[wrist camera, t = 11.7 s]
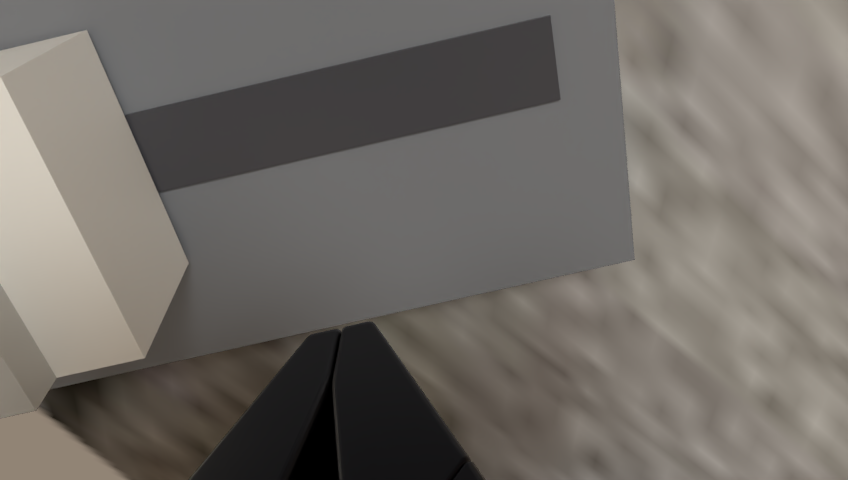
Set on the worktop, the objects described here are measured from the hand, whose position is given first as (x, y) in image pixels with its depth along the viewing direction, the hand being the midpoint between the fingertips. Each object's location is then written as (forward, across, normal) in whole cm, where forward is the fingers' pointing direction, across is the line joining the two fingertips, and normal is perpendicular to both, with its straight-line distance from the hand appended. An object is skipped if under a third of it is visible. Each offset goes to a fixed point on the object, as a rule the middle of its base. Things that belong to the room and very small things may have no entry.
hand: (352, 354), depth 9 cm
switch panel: (+12, +3, -1) cm, 12 cm away
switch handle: (+9, +8, -1) cm, 12 cm away
